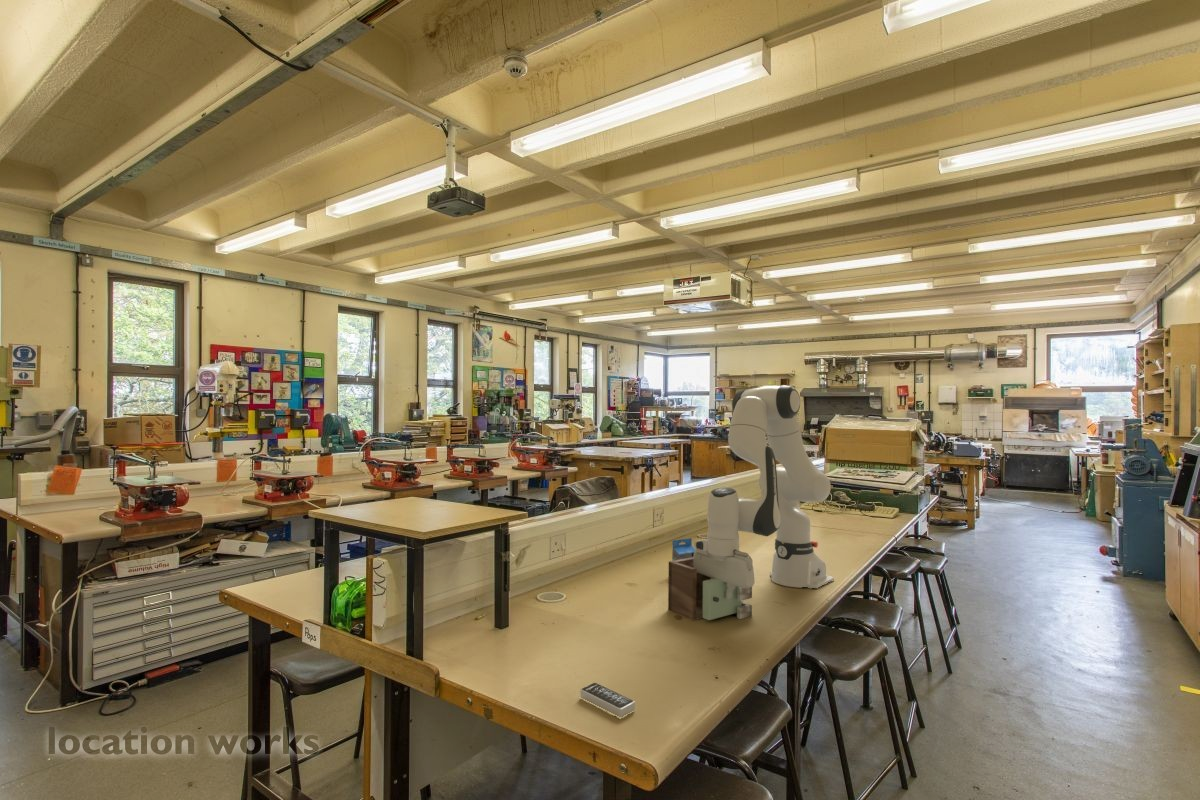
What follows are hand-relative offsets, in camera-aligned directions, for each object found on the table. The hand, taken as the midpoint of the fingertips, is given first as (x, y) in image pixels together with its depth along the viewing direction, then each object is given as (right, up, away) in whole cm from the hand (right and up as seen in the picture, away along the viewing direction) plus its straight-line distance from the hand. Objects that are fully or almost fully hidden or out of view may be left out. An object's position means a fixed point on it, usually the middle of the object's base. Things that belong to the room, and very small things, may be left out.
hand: (722, 596), depth 160 cm
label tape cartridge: (-4, -7, +42) cm, 43 cm away
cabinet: (-3, -6, +4) cm, 8 cm away
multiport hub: (-33, -5, -49) cm, 59 cm away
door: (0, -5, 0) cm, 5 cm away
